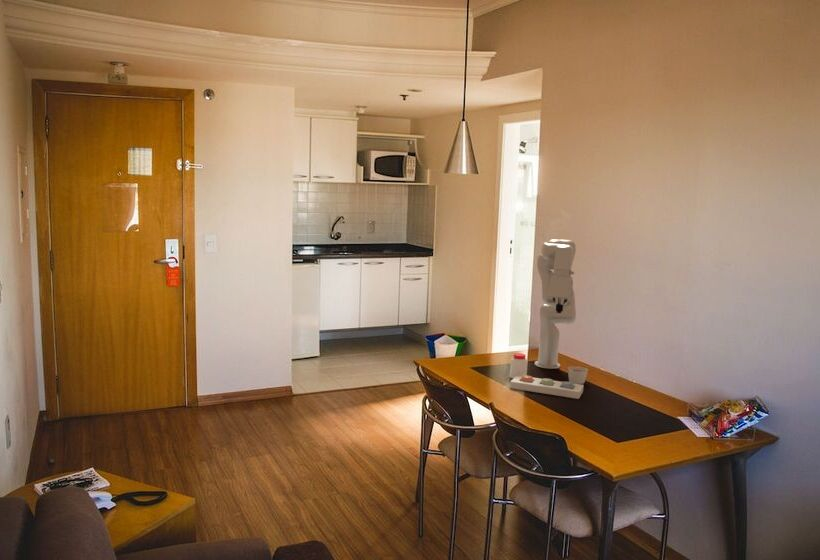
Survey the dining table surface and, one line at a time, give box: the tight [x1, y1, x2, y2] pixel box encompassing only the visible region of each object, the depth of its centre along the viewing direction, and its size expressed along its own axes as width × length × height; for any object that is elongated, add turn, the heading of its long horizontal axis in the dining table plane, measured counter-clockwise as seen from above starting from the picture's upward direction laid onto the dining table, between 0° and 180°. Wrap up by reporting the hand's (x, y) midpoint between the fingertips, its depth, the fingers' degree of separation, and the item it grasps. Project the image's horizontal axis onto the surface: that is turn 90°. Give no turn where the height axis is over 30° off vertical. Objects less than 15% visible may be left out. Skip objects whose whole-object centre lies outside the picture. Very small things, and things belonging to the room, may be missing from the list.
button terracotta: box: [521, 375, 533, 383], centre depth 304 cm, size 5×5×4 cm
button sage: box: [541, 377, 554, 386], centre depth 301 cm, size 5×5×4 cm
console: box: [509, 375, 585, 400], centre depth 301 cm, size 12×30×3 cm, turn 68°
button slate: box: [561, 381, 574, 389], centre depth 297 cm, size 5×5×4 cm
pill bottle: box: [509, 352, 529, 380], centre depth 318 cm, size 8×8×11 cm
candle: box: [567, 365, 589, 385], centre depth 315 cm, size 9×9×6 cm
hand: (559, 312), depth 312 cm, fingers closed
